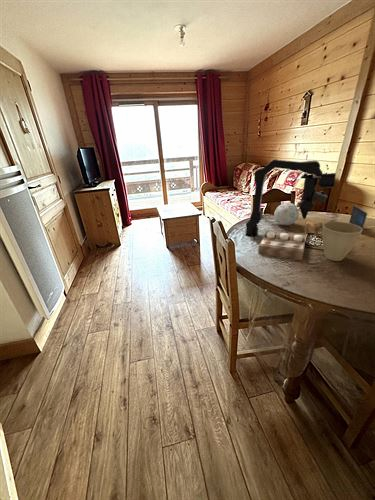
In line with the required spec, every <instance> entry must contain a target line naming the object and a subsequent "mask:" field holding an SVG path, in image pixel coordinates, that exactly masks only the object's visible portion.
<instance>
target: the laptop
mask: <svg viewBox="0 0 375 500" xmlns="http://www.w3.org/2000/svg"><path fill="white" fill-rule="evenodd" d="M367 216H368V212H367V211H365V210H363V209H362V208H360V207H359V206H357V205H355V204H354V205H353V207H352V212H351V215H350V218H349V222H348V223H351V224H355V225H357V226H359V227H361V228H362V232H361V234H362V233H363V229H364V226H365V223H366V220H367Z"/></svg>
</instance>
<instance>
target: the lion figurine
mask: <svg viewBox="0 0 375 500" xmlns="http://www.w3.org/2000/svg"><path fill="white" fill-rule="evenodd" d="M324 223H326V222H325V221H321V222H318V223H312V222H310V221H307V222H305V223H304V226H303V227H302V228H301V229H300V231H303V230H304V233H305V234H308V232H307V230H308V229H309V230H311V231H313V236H314V237H315V236H316V237H317V236H318V235H319V233H320V232H323V224H324Z"/></svg>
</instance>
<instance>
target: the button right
mask: <svg viewBox="0 0 375 500" xmlns="http://www.w3.org/2000/svg"><path fill="white" fill-rule="evenodd" d="M302 235H303V234H302ZM302 235H294V239H293V241H297V242H302V241H303V236H302Z"/></svg>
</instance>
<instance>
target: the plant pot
mask: <svg viewBox="0 0 375 500" xmlns="http://www.w3.org/2000/svg"><path fill="white" fill-rule="evenodd" d="M361 232H362V233H363V230H362V228H361V227H359V226H357V225H355V224H351V223H349V222H344V221H327V222H325V223H324V224H323V230H322V247H323V253H324V256H325V258H326V259H327V260H329V261H335V262H339V261H340V262H341V261H342V260H344V259H345V258H346V256H347V255H348V254H349V253H350V251H351V250H352V249H353V248H354V246H355V245H356V243H357V241H358V239H359V237H360V236H361V235H362V233H361Z"/></svg>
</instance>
